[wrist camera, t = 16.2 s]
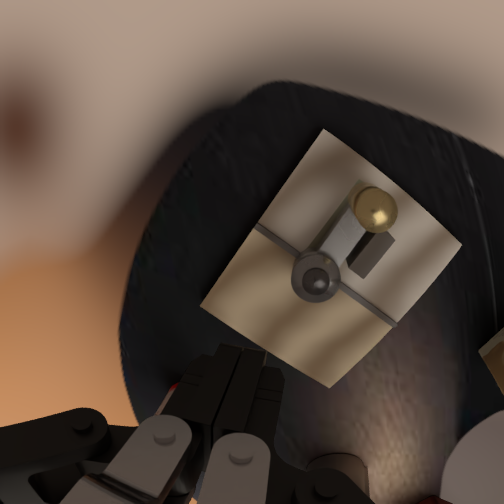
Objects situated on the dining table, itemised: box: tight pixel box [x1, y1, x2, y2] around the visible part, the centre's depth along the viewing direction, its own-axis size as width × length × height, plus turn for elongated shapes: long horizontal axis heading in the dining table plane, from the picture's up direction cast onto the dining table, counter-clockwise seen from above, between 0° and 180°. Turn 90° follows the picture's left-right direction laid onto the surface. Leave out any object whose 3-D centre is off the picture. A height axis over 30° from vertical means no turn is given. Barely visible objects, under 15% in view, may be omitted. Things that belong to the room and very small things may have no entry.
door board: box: [200, 129, 462, 388], centre depth 30 cm, size 18×22×4 cm
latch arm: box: [291, 182, 398, 303], centre depth 27 cm, size 12×4×6 cm, turn 149°
